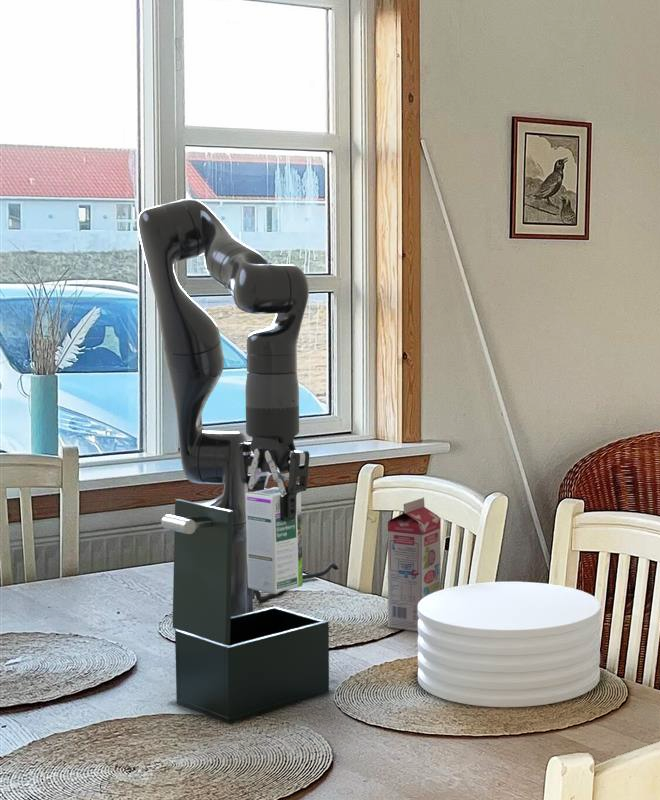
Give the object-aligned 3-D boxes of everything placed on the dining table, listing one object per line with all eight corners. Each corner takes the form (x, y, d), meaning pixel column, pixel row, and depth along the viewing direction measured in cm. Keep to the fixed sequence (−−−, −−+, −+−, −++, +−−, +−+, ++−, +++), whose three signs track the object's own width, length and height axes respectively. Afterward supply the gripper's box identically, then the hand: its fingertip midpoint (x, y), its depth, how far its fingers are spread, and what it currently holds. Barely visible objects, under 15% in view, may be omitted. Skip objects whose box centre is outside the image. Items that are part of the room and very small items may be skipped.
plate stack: (623, 661, 218) (624, 591, 216) (561, 717, 191) (562, 638, 190) (464, 642, 227) (465, 575, 226) (385, 693, 201) (384, 617, 199)
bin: (276, 674, 208) (275, 606, 207) (329, 692, 201) (328, 621, 199) (176, 703, 195) (174, 630, 194) (229, 723, 187) (227, 647, 186)
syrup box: (275, 594, 195) (274, 495, 193) (245, 588, 198) (244, 490, 196) (303, 586, 200) (302, 489, 198) (274, 580, 203) (273, 485, 201)
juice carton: (387, 627, 235) (387, 502, 233) (407, 617, 241) (407, 495, 239) (421, 631, 233) (421, 505, 230) (440, 621, 239) (440, 499, 236)
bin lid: (179, 498, 192) (146, 502, 188) (233, 510, 185) (200, 514, 180) (177, 626, 194) (144, 632, 190) (230, 644, 186) (196, 650, 182)
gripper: (325, 405, 194) (325, 520, 196) (263, 396, 203) (264, 507, 205) (282, 409, 189) (283, 528, 190) (220, 400, 198) (222, 514, 199)
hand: (273, 516), depth 198 cm, fingers closed on syrup box, 6 cm apart
